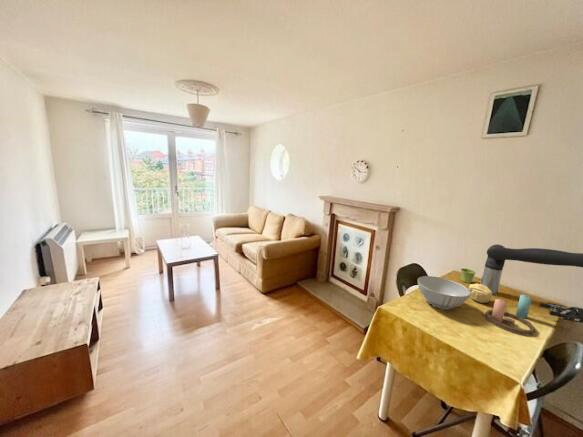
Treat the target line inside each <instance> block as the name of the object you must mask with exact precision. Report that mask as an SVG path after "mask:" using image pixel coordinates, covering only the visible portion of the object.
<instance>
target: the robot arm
mask: <svg viewBox="0 0 583 437" xmlns="http://www.w3.org/2000/svg"><path fill="white" fill-rule="evenodd" d="M486 254H487V257H486V260H485V264H484V267H483V273H482V276H481V278H480V282H479V284H482V285H484V286H487V287H488V288H489V289H490V290H491V291H492V295H498V293H499V289H500V288H499V287H500V282H501V278H502V274H503V270H504V266H505V263H506V261H517V262H524V263H532V264H538V265H539V264H540V265H545V266H547V265H549V266H561V267H562V266H564V267H567V266H568V267H577V268H583V253H581V252H569V251H563V250H556V249H549V248H536V247H534V248H531V247H529V248H509V247H505V246H504V245H502V244H492V245H491V246H490V247H488V249H487V250H486ZM538 307H540V308H544V309H550V310H549V315H550V316H554V317H559V318H561V319H563V320H565V321H569V322H574V323H580V324H583V308H582V307H576V306H570V307H568V308H566V307H564V306H563V305H562V304H558V303H554V302H553V303H552V302H547V303H543V302H540V303H539V305H538Z"/></svg>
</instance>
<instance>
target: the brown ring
mask: <svg viewBox="0 0 583 437" xmlns="http://www.w3.org/2000/svg"><path fill="white" fill-rule="evenodd" d="M492 312H493V309H487V310H486V311H485V314H484V317H485V318H486V320H487V321H488V322H489V323H491V324H492V325H494V326H495V327H497V328H500V329H501V330H504V331H507V332H509V333H513V334H518V335H521V336H532V335H533V334H534V332H535V329H536V327H535V326H534V325H533V323H531V322H530V321H528V320H527V319H524V318H521V317H519V316H516V314H514V313H511V312H508V311H505V313H504V317H503V321H502V324H501V323H499V322H497V321H496V320H494V319H492V318H491V317H492V316H490V315H492ZM516 321H519V322H520V323H522V324H524V325H525V326H527V327H528V329H519V328H515V327H514V325H515V324H516V323H515V322H516ZM503 323H504V324H503Z"/></svg>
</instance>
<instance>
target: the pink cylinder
mask: <svg viewBox="0 0 583 437" xmlns="http://www.w3.org/2000/svg"><path fill="white" fill-rule="evenodd" d="M507 303H508V302H507V301H505V300H503V299H500V298H495V299H494V303H493V309H492V310H493V312H492V314H491V316H490V317H491V318H492V319H494V320H496V321H497V322H499V323H501V324H503V322H502V321H503V319H504V318H505V316H504V313H505V312H506V308H507Z"/></svg>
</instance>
